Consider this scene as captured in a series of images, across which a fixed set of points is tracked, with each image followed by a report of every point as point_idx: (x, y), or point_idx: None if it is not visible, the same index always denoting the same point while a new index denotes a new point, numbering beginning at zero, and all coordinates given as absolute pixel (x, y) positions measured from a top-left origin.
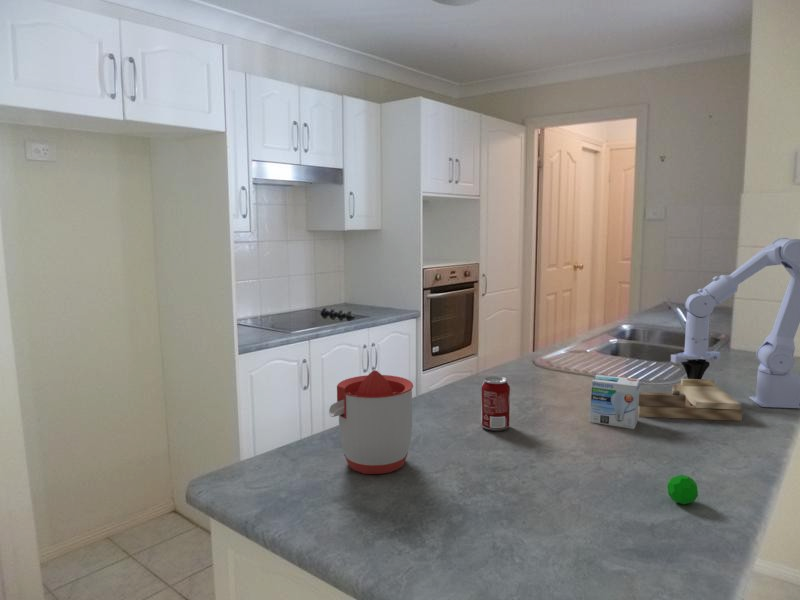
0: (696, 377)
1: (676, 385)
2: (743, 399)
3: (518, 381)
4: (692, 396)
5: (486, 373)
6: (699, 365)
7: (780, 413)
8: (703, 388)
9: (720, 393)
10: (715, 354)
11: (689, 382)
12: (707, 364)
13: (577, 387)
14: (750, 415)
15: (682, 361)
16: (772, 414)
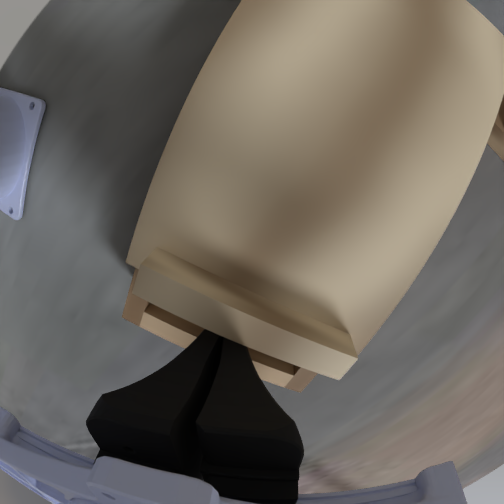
0: (236, 357)
1: (284, 385)
2: (42, 215)
3: (488, 457)
4: (485, 117)
5: (476, 480)
6: (235, 426)
7: (48, 34)
8: (278, 226)
9: (253, 75)
10: (3, 451)
11: (315, 330)
12: (123, 410)
13: (458, 439)
14: (169, 10)
15: (361, 492)
16: (79, 21)
